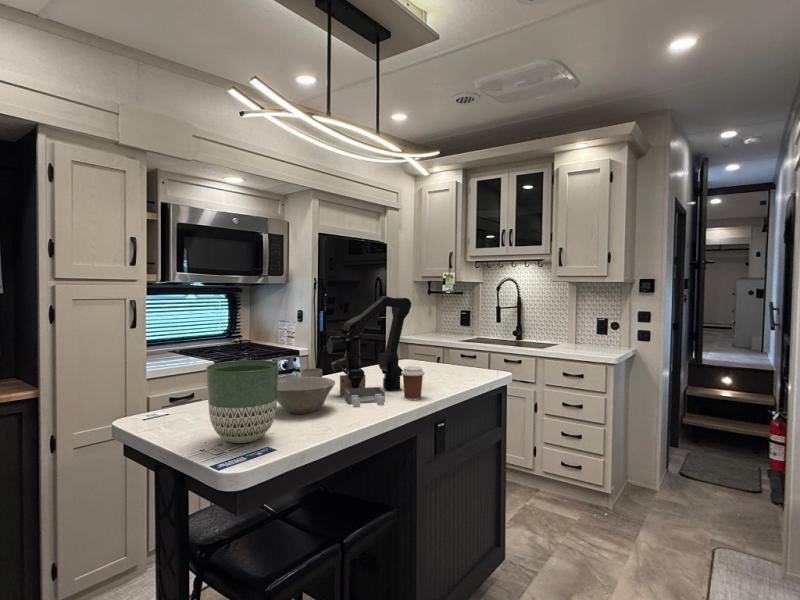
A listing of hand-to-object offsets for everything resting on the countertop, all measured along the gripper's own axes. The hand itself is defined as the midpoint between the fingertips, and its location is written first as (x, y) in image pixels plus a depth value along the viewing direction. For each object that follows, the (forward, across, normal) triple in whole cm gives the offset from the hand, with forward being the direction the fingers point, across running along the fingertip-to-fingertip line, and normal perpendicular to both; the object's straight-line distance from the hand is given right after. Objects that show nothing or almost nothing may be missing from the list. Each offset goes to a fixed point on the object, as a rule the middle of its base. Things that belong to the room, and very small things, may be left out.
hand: (352, 390), depth 189 cm
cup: (+2, -4, -16) cm, 17 cm away
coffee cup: (+2, +11, +22) cm, 25 cm away
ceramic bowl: (+2, +19, -21) cm, 28 cm away
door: (+2, 0, 0) cm, 2 cm away
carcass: (+2, +12, +3) cm, 13 cm away
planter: (+2, +47, -39) cm, 61 cm away
